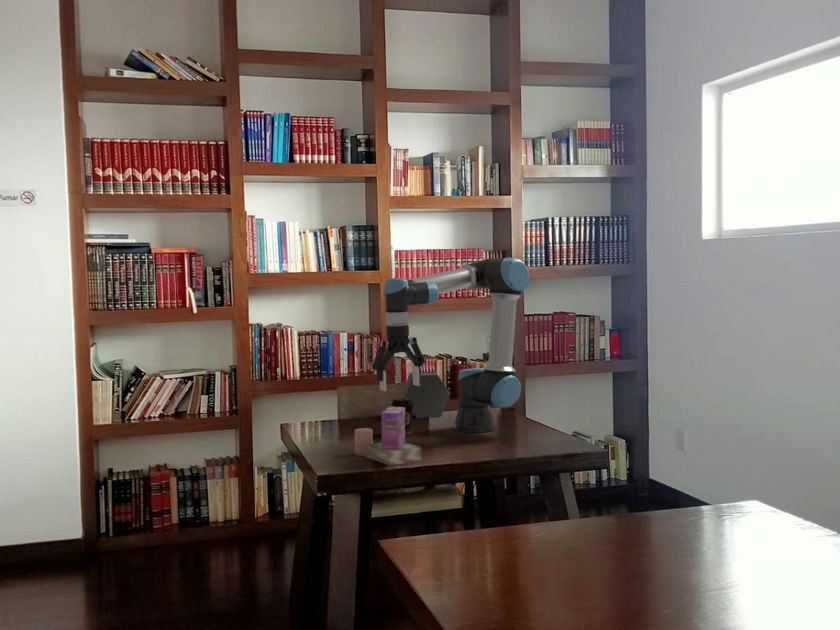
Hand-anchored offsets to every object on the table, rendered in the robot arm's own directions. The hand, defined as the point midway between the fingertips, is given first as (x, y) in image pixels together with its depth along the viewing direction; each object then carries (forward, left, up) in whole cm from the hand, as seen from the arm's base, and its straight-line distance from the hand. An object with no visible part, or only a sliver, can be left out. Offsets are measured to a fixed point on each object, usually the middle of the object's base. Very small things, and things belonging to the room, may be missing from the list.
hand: (399, 387), depth 275 cm
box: (+7, +6, -18) cm, 20 cm away
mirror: (+7, +6, -22) cm, 24 cm away
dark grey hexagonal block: (-44, -47, -22) cm, 68 cm away
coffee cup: (-17, -24, -22) cm, 37 cm away
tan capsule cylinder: (+11, -6, -22) cm, 25 cm away
